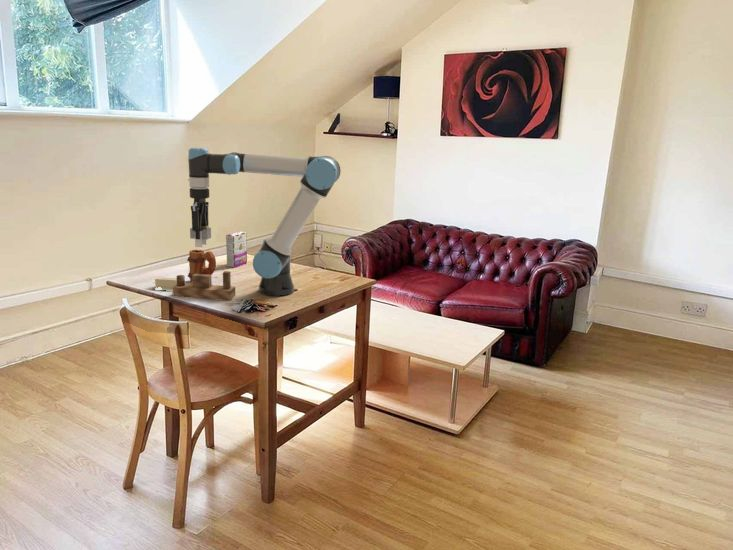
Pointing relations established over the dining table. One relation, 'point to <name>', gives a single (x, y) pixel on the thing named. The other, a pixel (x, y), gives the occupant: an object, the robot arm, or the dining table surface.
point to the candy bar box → (236, 249)
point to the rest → (166, 283)
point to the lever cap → (205, 232)
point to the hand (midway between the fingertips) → (201, 245)
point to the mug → (201, 263)
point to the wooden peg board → (204, 287)
